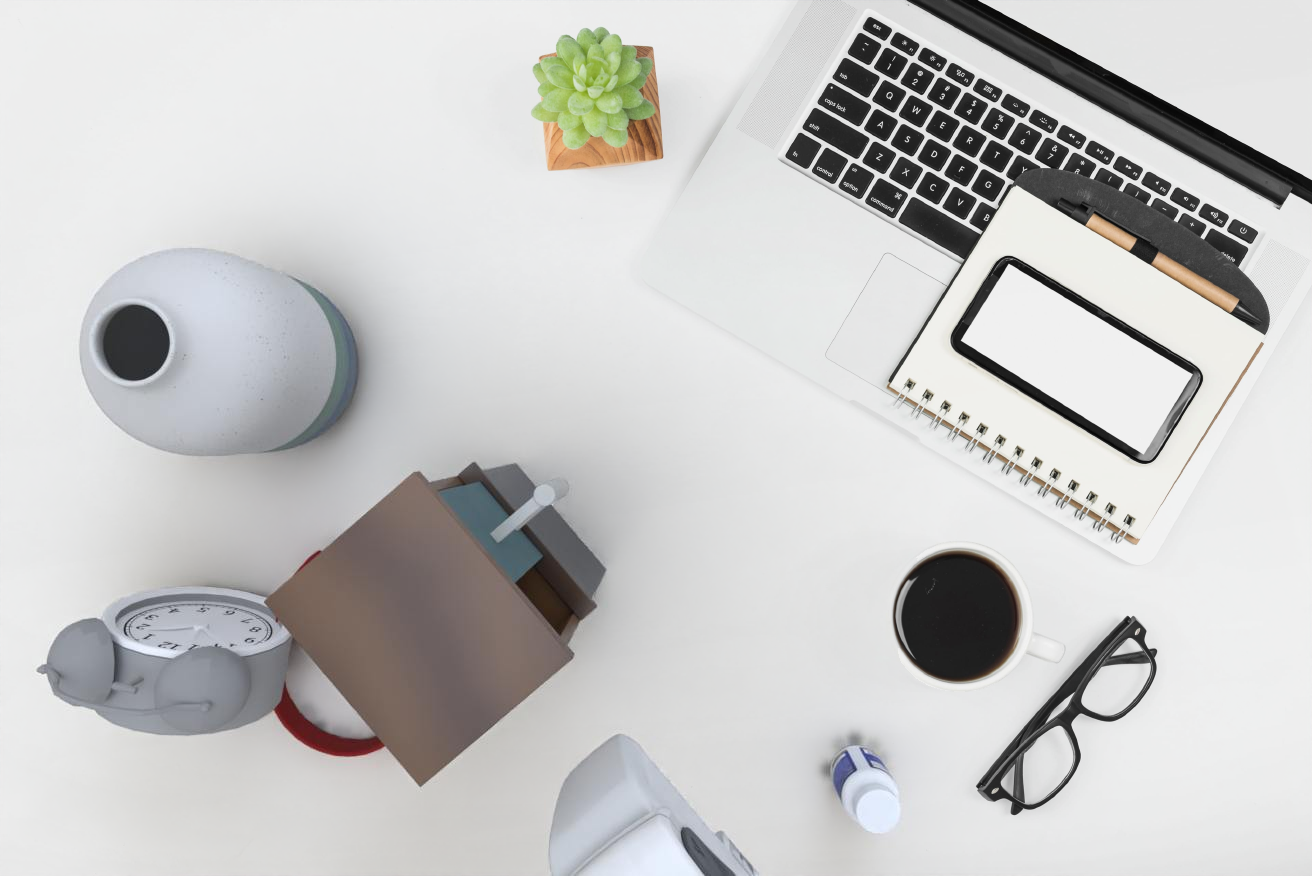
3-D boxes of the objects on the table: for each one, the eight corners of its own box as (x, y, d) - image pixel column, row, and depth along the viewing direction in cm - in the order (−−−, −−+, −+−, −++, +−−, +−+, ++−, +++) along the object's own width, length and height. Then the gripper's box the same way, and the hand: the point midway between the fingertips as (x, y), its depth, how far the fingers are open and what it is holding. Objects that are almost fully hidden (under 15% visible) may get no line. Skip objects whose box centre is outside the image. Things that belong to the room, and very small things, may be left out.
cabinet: (530, 634, 82) (420, 788, 47) (440, 527, 83) (262, 602, 48) (619, 559, 82) (573, 658, 47) (527, 452, 82) (414, 471, 47)
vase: (375, 283, 82) (249, 224, 58) (372, 452, 83) (246, 463, 59) (208, 280, 83) (15, 221, 59) (206, 449, 83) (13, 458, 59)
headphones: (296, 536, 82) (286, 722, 86) (259, 557, 75) (250, 759, 79) (442, 556, 82) (427, 741, 85) (418, 579, 75) (402, 780, 78)
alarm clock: (335, 607, 83) (210, 673, 61) (317, 691, 83) (186, 786, 61) (178, 570, 83) (-2, 623, 61) (160, 654, 84) (-25, 736, 62)
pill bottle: (837, 802, 82) (856, 848, 73) (823, 751, 82) (840, 791, 73) (889, 789, 82) (915, 833, 73) (875, 737, 82) (899, 775, 73)
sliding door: (535, 563, 60) (499, 596, 48) (471, 488, 60) (420, 503, 49) (595, 511, 60) (574, 532, 48) (531, 436, 60) (494, 438, 48)
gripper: (1009, 1228, 29) (903, 973, 43) (634, 785, 30) (648, 673, 43) (873, 1340, 29) (810, 1050, 43) (500, 897, 30) (557, 750, 44)
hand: (727, 859), depth 43 cm, fingers closed
